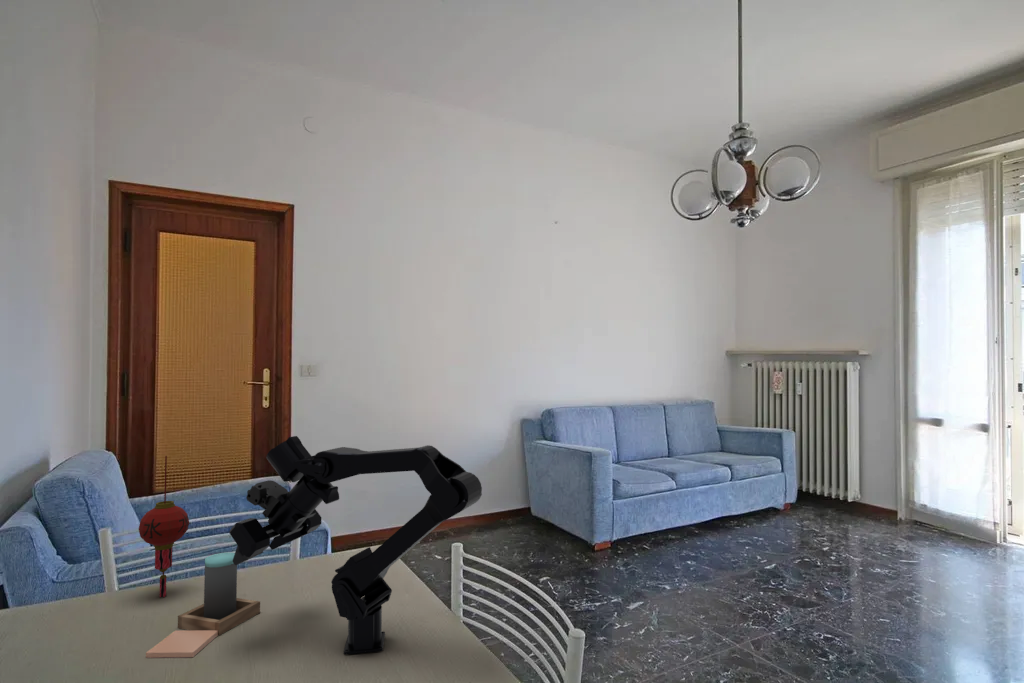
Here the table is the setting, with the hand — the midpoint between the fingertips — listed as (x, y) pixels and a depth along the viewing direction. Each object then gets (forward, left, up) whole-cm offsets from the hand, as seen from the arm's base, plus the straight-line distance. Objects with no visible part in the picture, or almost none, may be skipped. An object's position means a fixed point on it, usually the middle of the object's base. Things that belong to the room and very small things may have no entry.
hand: (253, 555), depth 106 cm
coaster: (-6, +10, -13) cm, 17 cm away
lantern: (+18, +23, -13) cm, 33 cm away
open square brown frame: (+4, +7, -13) cm, 15 cm away
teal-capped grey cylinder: (+4, +7, -13) cm, 15 cm away
